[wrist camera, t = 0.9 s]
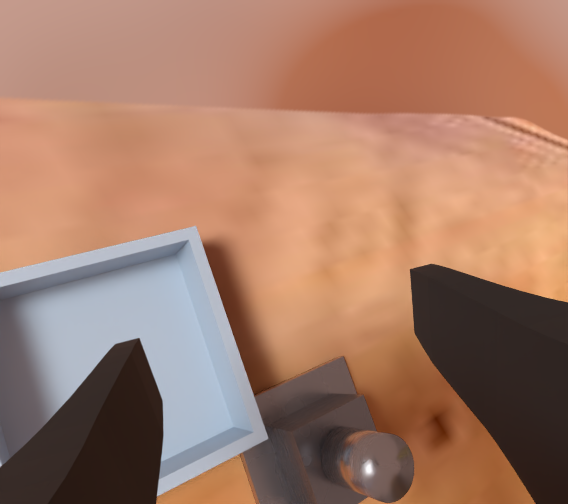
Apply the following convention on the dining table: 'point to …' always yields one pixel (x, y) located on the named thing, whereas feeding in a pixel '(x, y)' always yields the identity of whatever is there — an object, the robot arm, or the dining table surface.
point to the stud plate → (281, 403)
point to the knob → (339, 454)
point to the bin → (123, 327)
